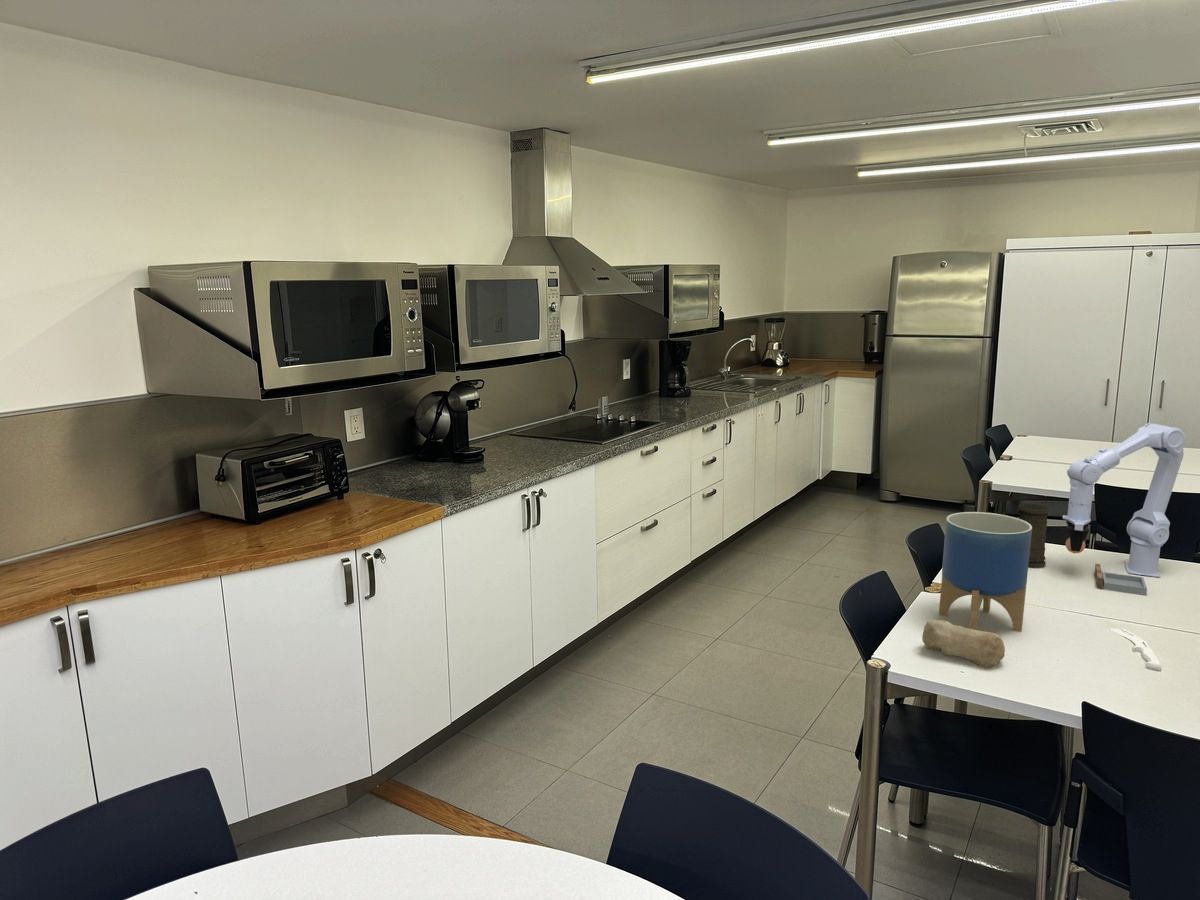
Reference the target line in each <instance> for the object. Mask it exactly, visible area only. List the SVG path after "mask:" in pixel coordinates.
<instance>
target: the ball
mask: <svg viewBox="0 0 1200 900" xmlns="http://www.w3.org/2000/svg"><path fill="white" fill-rule="evenodd" d="M1065 548H1066V549H1067V551H1069V553H1072V554H1080V553H1082V552H1083V551H1084V550H1085V548H1086V542H1085V540H1084V541H1083V544H1082V547H1081V549H1080V551H1072V550H1071V544H1070V537H1068V538H1067V539H1066V541H1065Z"/></svg>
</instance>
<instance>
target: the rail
mask: <svg viewBox="0 0 1200 900" xmlns="http://www.w3.org/2000/svg"><path fill="white" fill-rule="evenodd" d="M1102 572H1103V571H1102V566H1101V564H1100V563H1095V565H1094V574H1093V575H1094V579H1095V584H1096V585H1095V586H1096V589H1098V590H1102V589H1103V576H1102Z"/></svg>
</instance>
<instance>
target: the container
mask: <svg viewBox="0 0 1200 900" xmlns="http://www.w3.org/2000/svg"><path fill="white" fill-rule="evenodd" d="M1017 507H1018V517H1017V518H1018V519H1021V520H1023V521H1026V522H1028V523H1029V524H1030V525H1031V526H1032V535H1031V545H1030V555H1029V564H1028V569H1032V568H1033V569H1040V568H1045V566H1046V563H1047V562H1046V561H1045V560H1046V559H1047V558H1046V556H1045V552H1046V535H1047V527H1048V526H1047V525H1048V516H1049V512H1050V508H1049V507H1048V506H1046V505H1042V504H1036V503H1021V504H1019V505H1018V506H1017Z"/></svg>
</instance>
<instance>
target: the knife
mask: <svg viewBox="0 0 1200 900" xmlns="http://www.w3.org/2000/svg"><path fill="white" fill-rule="evenodd" d="M1110 631H1112V632H1113V633H1115V634H1117V635H1118V636H1119V635H1120V636H1122V637H1124V638H1125V639H1127V640H1129V641H1131V642H1133V644H1134V645H1133V646H1132V652H1134V653H1141V657H1142V658H1143V659H1144V660H1145V661H1146V662H1145V664H1144V666H1145V668H1146V669H1148V670H1149V669H1150V670H1151V671H1161V669H1162V665H1161V662H1160V661H1159V659H1158V657H1157V656H1156V653H1155V652H1154V650H1153V649H1152V648H1151V647H1150V645H1148V642H1147V641H1146V640H1144V639H1142V638H1141V637H1139V636H1138V635H1136V634H1134V633H1133V632H1132V631H1129V630H1127V629H1125V628H1123V629H1119V628H1118V629H1114V628H1113V627H1111V628H1110Z"/></svg>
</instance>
